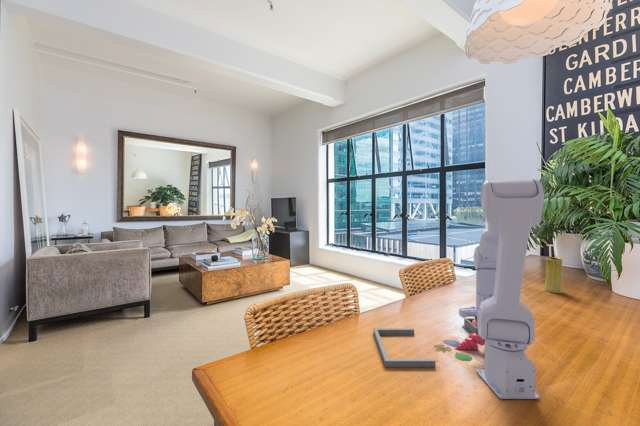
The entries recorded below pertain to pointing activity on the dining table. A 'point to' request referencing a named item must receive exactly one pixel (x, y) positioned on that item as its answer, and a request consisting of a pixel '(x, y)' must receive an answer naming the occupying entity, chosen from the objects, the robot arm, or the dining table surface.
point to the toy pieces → (462, 346)
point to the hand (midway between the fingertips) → (487, 342)
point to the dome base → (470, 326)
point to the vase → (553, 275)
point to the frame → (399, 362)
